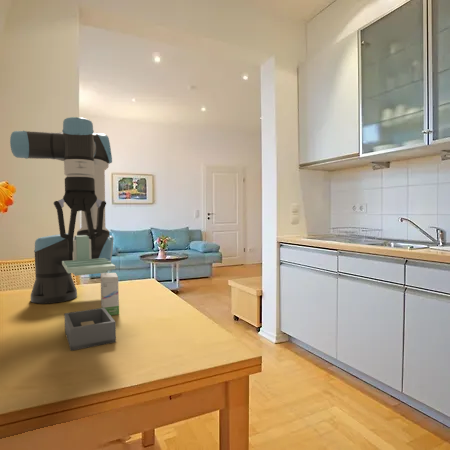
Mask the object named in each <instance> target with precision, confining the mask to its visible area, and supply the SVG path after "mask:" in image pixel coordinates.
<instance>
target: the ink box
mask: <svg viewBox="0 0 450 450" xmlns="http://www.w3.org/2000/svg"><path fill="white" fill-rule="evenodd" d="M119 296H120V295H119V276H118V274H117V273H116V272H107V273H100V306H101V307H100V308H105V309H106V310H107V312H108V313H109V314H110V315H111V316H113V315H114V316H115V315H120V302H119V301H120V299H119Z"/></svg>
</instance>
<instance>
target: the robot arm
mask: <svg viewBox="0 0 450 450" xmlns="http://www.w3.org/2000/svg"><path fill="white" fill-rule="evenodd" d="M62 122H63V123H62V132H60V131H59V132H47V131H45V132H44V131H31V130H30V131H27V130H14V131H12V132H11V134H10V136H9V137H10V138H9V139H10V140H9V143H10V144H9V145H10V150H11V153H12V155H13V156H14V157H15V158H19V159H26V160H27V159H35V160H36V159H41V160H42V159H43V160H45V159H46V160H47V159H48V160H56V161H62V162H63V170H64V171H63V172H64V175H65V178H64V195H63V197H62V198H61V199H58V200H55V201H54V202H53V205H54V207H55V209H56V214H57V222H58V229H59V234H52V235H47V236H41V237H38V238H36V240H35V241H34V251H33V252H34V267H35V268H34V270H35V280H34V283H33V286H32V290H31V292H30V302H31V303H33V304H44V305H45V304H56V303H57V304H58V303H61V302H66V301H67V302H68V301H70V300H73V299H75V298H77V297H78V291H77V290H78V289H77V287H76V285H75V281H74V280H73V279H74V278H73V277H72V273H67V271H66V270H65V268H64V266H63V265H62V261H71V260H77V248H76V240H75V235H74V234H75V229H76V228H75V227H76V220H77V214H78V212H81V214H80V216H81V217H80V219H81V222H80V224H81V227H80V228H79V229H78V230H77V231H76V236H77V235H87V236H89V259H97V258H106V260H108V261H111V262H112V257H113V253H114V252H113V249H114V240H115V238H114V236H113V235H111V234H110V230H109V229H108V228H106V206H107V202H106V174H105V171H106V170H108V168H109V166H110V164H112V163H113V156H112V150H111V143H110V138H109V136H108V135H107V134H105V133H98V132H94V124H93V122H92V120H90V119H88V118H85V117H77V116H75V117H74V116H71V117H66V118H64V119H63V121H62ZM64 203H65V204H64ZM65 205H67V206H68V208H69V209H70V217H69V223H68V231H67V232H66V225H65V219H64V212H63V211H64V210H63V208H64V206H65Z"/></svg>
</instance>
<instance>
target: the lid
mask: <svg viewBox="0 0 450 450" xmlns="http://www.w3.org/2000/svg"><path fill="white" fill-rule="evenodd" d="M74 237H75V240H76V248H77V260H71V261H62V265H63V266H64V268H65V270H66V271H67V273H71V274H73V275H74V277H76V276H86V275H87V276H88V275H96V274H101V273H108V271H109V270H111V271H112V270H116V265H115V264H114V263H112V260H111V261H108V260H106V258H97V259H89V236H87V235H77V234H76V235H74Z"/></svg>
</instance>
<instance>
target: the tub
mask: <svg viewBox="0 0 450 450" xmlns="http://www.w3.org/2000/svg"><path fill="white" fill-rule="evenodd" d="M116 326H117V325H116V321H115V319H114V318H113V317H112V315H110V314H109V313H108V312H107V310H106V309H105V308H101V307H99V308H92V309H86V310H85V309H84V310H79V311H71V312H65V313H64V333H65V337H66V340H67V344H68V346H69V350H70V351H77V350H82V349H86V348H92V347H97V346H102V345H108V344H112V343H113V344H114V343H116V342H117V329H116Z"/></svg>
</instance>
